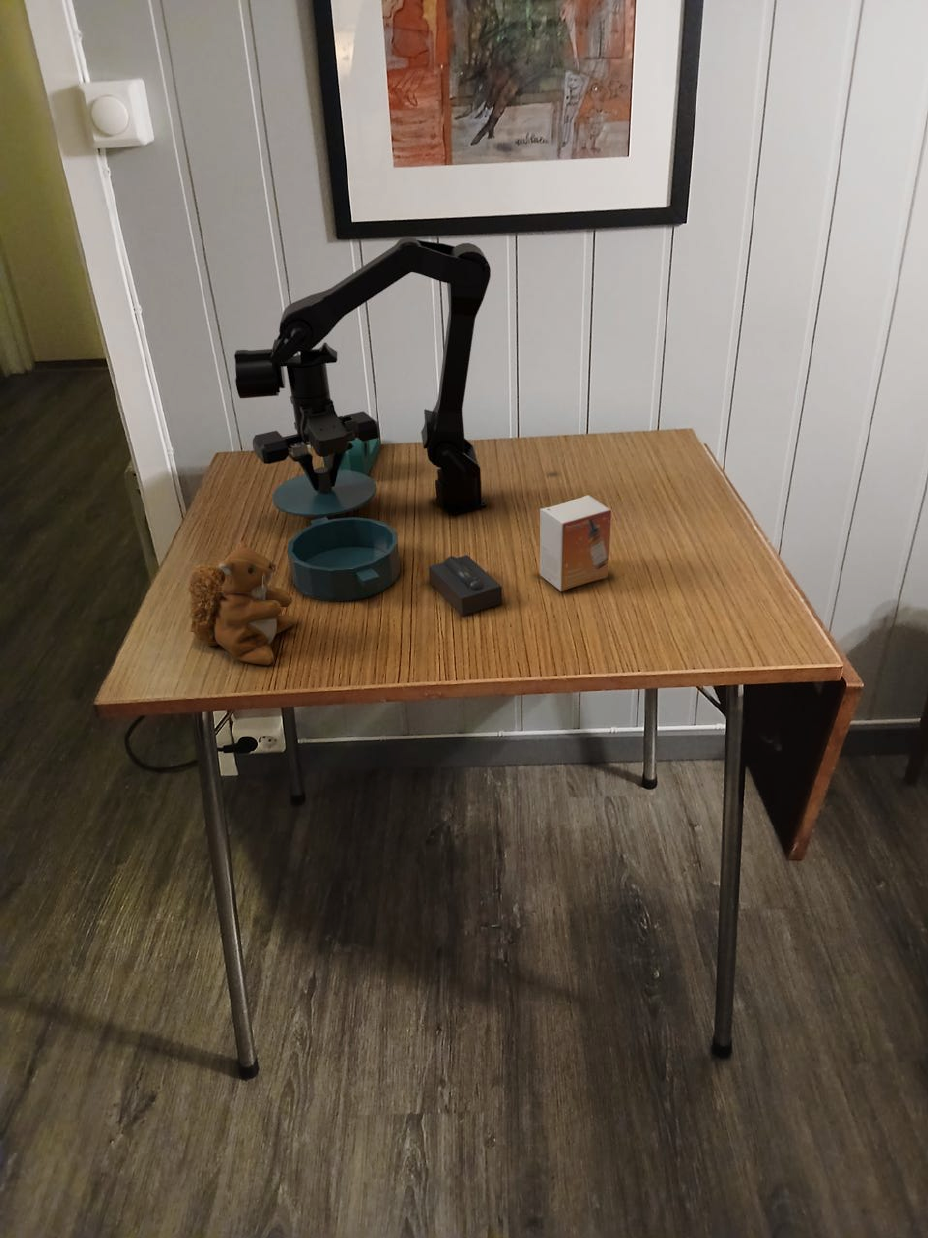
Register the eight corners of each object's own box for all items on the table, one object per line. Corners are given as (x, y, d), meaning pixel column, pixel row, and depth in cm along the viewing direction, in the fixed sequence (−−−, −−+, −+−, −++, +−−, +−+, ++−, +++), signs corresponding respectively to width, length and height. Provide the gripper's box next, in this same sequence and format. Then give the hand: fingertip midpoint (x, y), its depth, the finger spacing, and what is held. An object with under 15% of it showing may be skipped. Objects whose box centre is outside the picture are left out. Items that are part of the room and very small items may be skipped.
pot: (369, 531, 144) (365, 501, 141) (426, 590, 128) (423, 558, 126) (273, 556, 139) (268, 527, 136) (320, 622, 123) (315, 589, 120)
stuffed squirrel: (275, 668, 114) (257, 576, 107) (174, 655, 118) (150, 565, 111) (307, 624, 122) (293, 536, 115) (212, 613, 126) (192, 527, 119)
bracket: (364, 482, 160) (359, 439, 155) (326, 482, 160) (320, 439, 156) (382, 441, 174) (378, 401, 170) (347, 441, 175) (342, 401, 171)
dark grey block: (468, 571, 132) (466, 547, 130) (502, 603, 125) (501, 578, 122) (430, 583, 130) (428, 558, 128) (462, 616, 122) (461, 590, 120)
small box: (560, 593, 126) (561, 524, 120) (538, 575, 130) (538, 507, 125) (609, 577, 129) (612, 509, 123) (586, 560, 133) (588, 493, 127)
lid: (354, 467, 157) (351, 441, 154) (393, 503, 144) (390, 475, 142) (260, 490, 151) (255, 464, 148) (292, 530, 138) (287, 501, 136)
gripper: (265, 421, 129) (283, 522, 137) (389, 394, 135) (398, 492, 144) (243, 398, 137) (261, 494, 146) (360, 374, 144) (371, 467, 152)
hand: (324, 487), depth 147 cm, fingers closed on lid, 2 cm apart
